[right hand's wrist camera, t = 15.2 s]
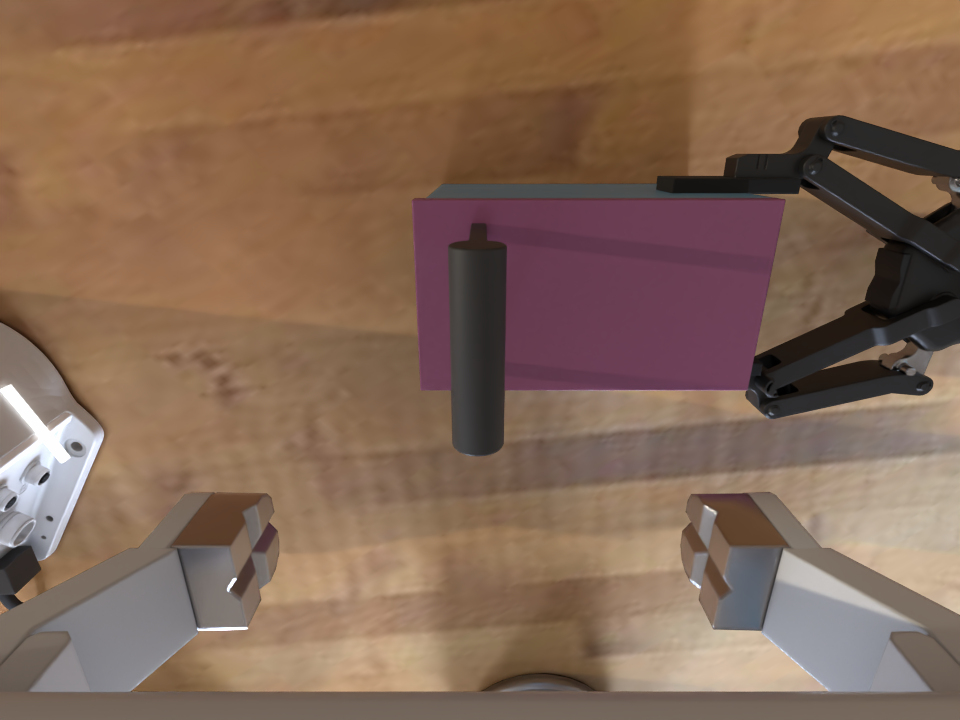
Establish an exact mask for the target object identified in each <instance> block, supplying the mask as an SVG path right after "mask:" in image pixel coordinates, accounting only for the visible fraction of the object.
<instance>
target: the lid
mask: <svg viewBox="0 0 960 720" xmlns="http://www.w3.org/2000/svg"><path fill="white" fill-rule="evenodd" d="M784 205H785V199H779V198H415V199H413V200H412V215H413V237H414V259H415V280H416V302H417V324H418V345H419V367H420V389H421V390H451V401H452V443H453V446H454V448H455V449H456V450H457V451H459V452H460V453H463V454H465V455H470V456H486V455H490V454H493V453H496V452H497V451H499V450H500V449H501V448H502V446H503V444H504V396H505V390H748V385H749V380H750V375H751V370H752V365H753V360H754V355H755V350H756V345H757V340H758V335H759V330H760V325H761V320H762V315H763V310H764V305H765V300H766V295H767V290H768V285H769V280H770V275H771V270H772V265H773V260H774V255H775V250H776V245H777V240H778V235H779V230H780V225H781V220H782V215H783V210H784Z"/></svg>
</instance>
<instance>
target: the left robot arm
mask: <svg viewBox="0 0 960 720" xmlns="http://www.w3.org/2000/svg"><path fill="white" fill-rule="evenodd" d="M798 135H799V138H798V140H797V142H796V144H795V145H794V147H793V148H792V149H791V150H789V151H788V152H786V153H783V154H735V155H732V156H730V157H727V158H726V163H725V169H724V176H658V177H657V186H656V190H659V191H664V192H668V193H747V194H798V193H799V188H800V187H801V188H803V189H804V190H806V191H807V192H809V193H811V194H812V195H814V196H815V197H817V198H818V199H820V200H821V201H823V202H825V203H826V204H828V205H829V206H831V207H832V208H834V209H836V210H837V211H839V212H840V213H842V214H843V215H845V216H847V217H848V218H850V219H851V220H853V221H854V222H856V223H858V224H859V225H861V226H862V227H864V228H865V229H866V231H867V232H868V233H869V234H871V235H872V236H874V237H876V238H877V239H879V240H880V241H882V242H883V243H885V244H886V245H885V247H884V248H879V249H878V253H877V256H876V260H875V276H874V278H873V280H872V281H871V283H870V285H869V287H868V290H867V293H866V297H865V300H866V301H865V302H863V303H861V304H858V305H856V306H854V307H852V308H850V309H848V310H846V311H845V315H844V316H842V317H840V318H838V319H836V320H834V321H831V322H829V323H827V324H825V325H823V326H820V327H818V328H816V329H814V330H812V331H809V332H807V333H805V334H803V335H801V336H798V337H796V338H794V339H792V340H790V341H787V342H785V343H783V344H781V345H779V346H776V347H774V348H772V349H770V350H768V351H765V352H763V353H761V354H759V355H757V356H755V357H754V360H753V365H752V370H751V375H750V380H749V385H748V390H747V391H746V394H745V396H746V399H747V400H748V401H750V402H751V404H753V405H754V406H755V407H756V408H757V409H758V410H759V411H760V412H761V413H762V414H763V415H765V416H766V417H767V418H769V419H776V418H780V417H785V416H789V415H794V414H798V413H803V412H808V411H812V410H817V409H821V408H826V407H830V406H835V405H840V404H844V403H849V402H853V401H858V400H862V399H867V398H872V397H876V396H881V395H885V394H890V393H896V394H907V395H924V394H927V393H928V392H929V391H930V390H931V389H932V387H933V380H932V379H931V378H929V377H927V376H925V375H924V373H925V370H926V368H927V366H928V363H929V361H930V359H931V356H932V354H933V352H934V351H939V350H942V349H945V348H947V347H949V346H952V345H955V344H959V343H960V150H955V149H951V148H948V147H945V146H941V145H938V144H935V143H932V142H928V141H925V140H922V139H918V138H915V137H912V136H909V135H905V134H902V133H899V132H895V131H892V130H889V129H886V128H882V127H879V126H876V125H872V124H869V123H866V122H862V121H859V120H856V119H853V118H849V117H846V116H841V115H837V116H827V117H817V118H809V119H807V120H805V121H804V122H803V123H802V124H801V125H800V127H799V131H798ZM832 150H833V151H837V152H840V153H844V154H847V155H850V156H854V157H857V158H860V159H864V160H867V161H870V162H874V163H877V164H881V165H884V166H887V167H891V168H894V169H897V170H901V171H904V172H908V173H911V174H916V175H925V176H933V177H932V183H933V184H936V186H937V188H938V189H939V190H941V191H946V192H948V193H949V194H950V195H951V198H952V200H951V202H950V203H947V204H945V205H944V206H942V207H940V208H939V209H937V210H936V211H934V212H932V213H931V214H929V215H927V216H926V217H924V218H920V217H917V216H915V215H913V214H911V213H910V212H908V211H907V210H905V209H904V208H902V207H901V206H899V205H898V204H896V203H894V202H893V201H891V200H890V199H888V198H887V197H885V196H884V195H882V194H881V193H879V192H878V191H876V190H875V189H873V188H872V187H870V186H869V185H867V184H866V183H864V182H863V181H861V180H859V179H858V178H856V177H855V176H853V175H852V174H850V173H849V172H847V171H846V170H844V169H843V168H841V167H840V166H838V165H837V164H835V163H834V162H832V161H831V160H829V159H828V156H829V154H830V153H831V151H832ZM902 339H903V340H904V341H905V342H906V343H907V345H906V346H905V348H904V349H903V350H901V351H899V352H897V353H891V354H889V355H888V354H882V355H880V357H879V360H867V361H860V362H854V363H850V364H846V365H841V366H837V367H832V368H828V369H824V368H826V367H828V366H830V365H833V364H835V363H837V362H839V361H842V360H844V359H846V358H849V357H851V356H853V355H855V354H858V353H860V352H862V351H864V350H867V349H869V348H871V347H873V346H877V345H890V344H893V343H895V342H898V341H900V340H902ZM821 369H823V370H821ZM496 691H594V690H593V689H591V688H590V687H588V686H586V685H585V684H583V683H581V682H578V681H576V680H573V679H570V678H567V677H563V676H558V675H550V674H530V675H522V676H516V677H512V678H509V679H506V680H503V681H500V682H498V683H496V684H494V685H492V686H490V687H488V688H487V689H485V690H484V691H482V692H496Z"/></svg>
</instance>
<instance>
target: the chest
mask: <svg viewBox="0 0 960 720" xmlns="http://www.w3.org/2000/svg"><path fill="white" fill-rule="evenodd" d="M656 186H657V184H442V185H441V186H440V187H439V188H437V189H436V190H435V191H434V192H433V193H432V194H430V195H429V196H428V197H427V198H772V197H766V196H760V195H754V194H747V193H668V192H664V191H659V190H656Z"/></svg>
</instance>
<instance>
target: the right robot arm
mask: <svg viewBox="0 0 960 720" xmlns="http://www.w3.org/2000/svg"><path fill="white" fill-rule="evenodd" d="M103 438H104V431H103V429H102V427H101V425H100V424H99V423H98V422H97V421H96V420H95V419H94V418H93V417H92V416H91V415H90V414H89V413H88V412H87V411H86V410H85V409H84V408H83V407H81V406H80V405H79V404H78V403H77V402H76V401H75V399H74V398H73V396H72V395H71V393H70V392H69V390H68V388H67V386H66V384H65V383H64V381H63V379H62V377H61V376H60V374H59V373H58V371H57V370H56V368H55V367H54V366H53V364H52V363H51V362H50V361H49V359H48V358H47V357H46V356H45V355H44V354H43V353H42V352H41V351H40V350H39V349H38V348H37V347H36V346H35V345H33V344H32V343H31V342H30V341H29V340H27V339H26V338H25V337H24V336H22V335H21V334H19V333H18V332H16V331H15V330H13V329H11V328H10V327H8V326H6V325H4V324H3V323H1V322H0V601H1V602H2V604H3V605H4V606H5V607H6V608H7V609H9V611H7V612H5V613H3V614H1V615H0V720H960V615H959V614H957V613H955V612H953V611H951V610H949V609H947V608H945V607H943V606H941V605H939V604H938V603H936V602H934V601H932V600H930V599H928V598H926V597H924V596H922V595H920V594H918V593H916V592H914V591H912V590H910V589H908V588H907V587H905V586H903V585H901V584H899V583H897V582H895V581H893V580H891V579H889V578H887V577H885V576H883V575H881V574H879V573H878V572H876V571H874V570H872V569H870V568H868V567H866V566H864V565H862V564H860V563H858V562H856V561H854V560H852V559H850V558H848V557H847V556H845V555H843V554H841V553H839V552H837V551H835V550H833V549H831V548H821V546H820V545H819V544H818V543H817V542H816V541H815V540H814V538H813V537H812V536H811V535H810V534H809V533H808V532H807V530H806V529H805V528H804V527H803V526H802V525H801V523H800V522H799V521H798V520H797V519H796V518H795V517H794V515H793V514H792V513H791V512H790V511H789V510H788V508H787V507H786V506H785V505H784V504H783V503H782V502H781V500H780V499H779V498H778V497H777V496H776V495H775V494H773V493H770V492H753V493H742V494H691V495H690V497H689V499H688V502H687V507H686V513H687V515H688V517H689V519H690V521H691V523H690V524H689V525H688V526H687V527H686V528H685V529H684V530H683V531H682V538H681V557H682V562H683V566H684V569H685V572H686V574H687V576H688V578H689V581H690V582H692V583H693V584H694V585H696V586H697V587H699V588H700V589H701V590H700V596H699V601H700V603H701V605H702V607H703V609H704V611H705V613H706V615H707V617H708V619H709V621H710V623H711V625H712V627H713V629H720V630H756V631H762V634H763V635H764V636H766V637H767V638H768V639H769V640H770V641H771V642H773V643H774V644H775V645H776V646H777V647H778V648H780V649H781V650H782V651H783V652H784V653H785V654H787V655H788V656H789V657H790V658H791V659H792V660H794V661H795V662H796V663H797V664H798V665H799V666H801V667H802V668H803V669H804V670H805V671H806V672H808V673H809V674H810V675H811V676H812V677H813V678H815V679H816V680H817V681H818V682H819V683H820V684H822V685H823V686H824V687H825V688H826V689H827V690H829V691H805V692H595V691H496V692H130V691H131V690H133V689H134V688H135V687H136V686H137V685H139V684H140V683H141V682H142V681H143V680H144V679H146V678H147V677H148V676H149V675H150V674H151V673H153V672H154V671H155V670H156V669H157V668H158V667H160V666H161V665H162V664H163V663H164V662H165V661H167V660H168V659H169V658H170V657H171V656H172V655H174V654H175V653H176V652H177V651H178V650H179V649H181V648H182V647H183V646H184V645H185V644H186V643H188V642H189V641H190V640H191V639H192V638H193V637H195V636H196V635H197V634H198V631H204V630H238V629H247V628H248V625H249V623H250V621H251V619H252V617H253V615H254V613H255V611H256V609H257V607H258V605H259V603H260V601H261V596H260V590H259V589H260V588H261V587H263V586H264V585H266V584H267V583H268V582H270V581H271V578H272V576H273V574H274V572H275V570H276V566H277V561H278V557H279V537H278V531H277V530H276V529H275V528H274V527H273V526H272V525H271V524H270V523H269V521H270V519H271V517H272V515H273V513H274V508H273V503H272V498H271V497H270V496H269V495H268V494H267V493H221V492H217V493H214V492H191V493H188V494H185V495H184V496H183V497H182V498H181V499H180V500H179V502H178V503H177V504H176V505H175V506H174V507H173V508H172V510H171V511H170V512H169V513H168V514H167V515H166V517H165V518H164V519H163V520H162V521H161V522H160V523H159V525H158V526H157V527H156V528H155V529H154V530H153V531H152V533H151V534H150V535H149V536H148V537H147V538H146V540H145V541H144V542H143V543H142V544H141V545H140V546H139V548H129V549H127V550H125V551H123V552H121V553H119V554H117V555H115V556H113V557H111V558H110V559H108V560H106V561H104V562H102V563H100V564H98V565H96V566H94V567H92V568H90V569H88V570H86V571H84V572H82V573H80V574H78V575H77V576H75V577H73V578H71V579H69V580H67V581H65V582H63V583H61V584H59V585H57V586H55V587H53V588H51V589H49V590H47V591H45V592H44V593H42V594H40V595H38V596H36V597H34V598H32V599H30V600H28V601H26V602H24V603H23V602H21V601H20V600H18V599H17V597H16V596H15V595H14V594H16V593H17V592H18V591H19V590H20V589H21V588H22V587H23V586H24V585H26V584H27V583H28V582H29V581H30V580H31V579H32V578H33V577H34V576H35V575H36V574H37V573H38V572H39V571H40V570H41V568H40V565H39V563H38V561H40V560H44V559H46V558H47V557H48V556H50V555H51V554H52V553H54V551H55V550H56V548H57V546H58V544H59V542H60V539H61V537H62V535H63V532H64V530H65V528H66V525H67V523H68V521H69V518H70V516H71V514H72V511H73V509H74V507H75V504H76V502H77V499H78V497H79V495H80V492H81V490H82V488H83V485H84V483H85V481H86V478H87V476H88V474H89V471H90V469H91V467H92V464H93V462H94V460H95V457H96V455H97V453H98V450H99V448H100V446H101V443H102V441H103ZM79 443H80V444H81V445H82V446H81V445H79Z"/></svg>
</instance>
